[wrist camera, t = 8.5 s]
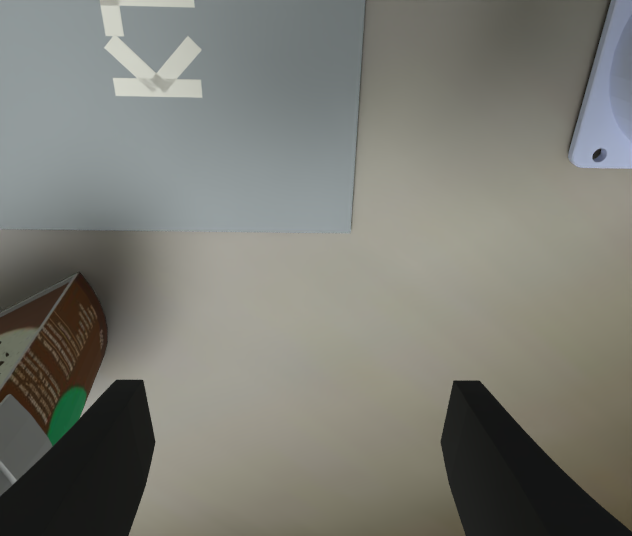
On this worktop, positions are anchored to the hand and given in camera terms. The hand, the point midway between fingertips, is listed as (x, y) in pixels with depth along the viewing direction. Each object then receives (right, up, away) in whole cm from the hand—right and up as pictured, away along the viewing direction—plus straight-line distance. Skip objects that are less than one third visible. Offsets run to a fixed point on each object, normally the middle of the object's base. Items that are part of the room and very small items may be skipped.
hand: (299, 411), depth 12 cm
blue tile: (-5, +11, +5) cm, 13 cm away
